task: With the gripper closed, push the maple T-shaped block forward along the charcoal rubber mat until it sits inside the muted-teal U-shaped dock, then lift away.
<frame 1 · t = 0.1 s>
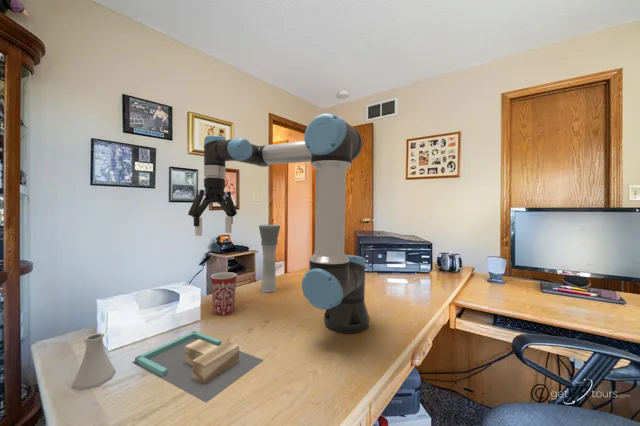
hand: (214, 234, 102), 28 cm above the table, fingers open, 13 cm apart
flask: (94, 382, 59), on the table
container: (268, 290, 125), on the table
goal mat: (198, 362, 67), on the table
tee block: (216, 369, 64), resting on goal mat
mug: (224, 310, 101), on the table
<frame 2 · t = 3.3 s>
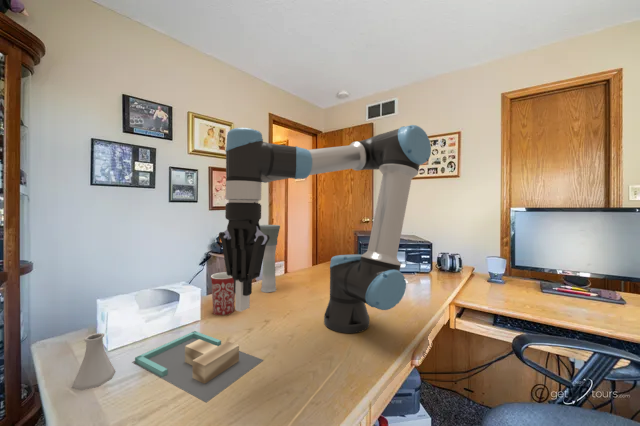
hand: (242, 308, 60), 16 cm above the table, fingers closed
nothing on the table moved.
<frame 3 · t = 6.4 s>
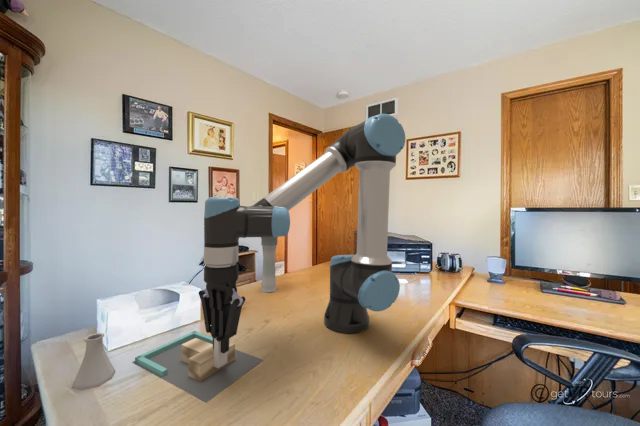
hand: (220, 364, 63), 2 cm above the table, fingers closed
tee block: (212, 367, 64), resting on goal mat, touching gripper
everything else where it was.
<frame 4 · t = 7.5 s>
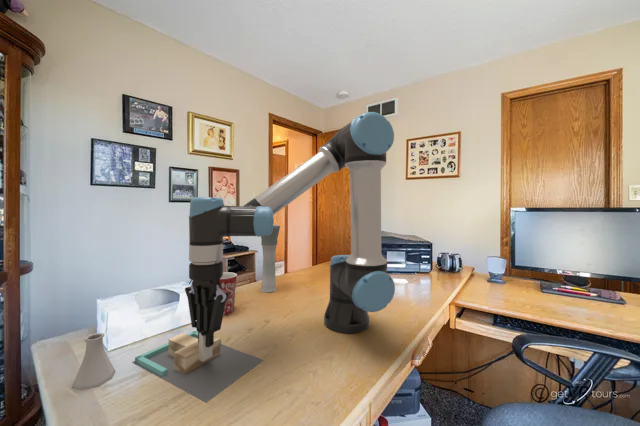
hand: (205, 358, 66), 2 cm above the table, fingers closed
tee block: (198, 360, 67), resting on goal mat, touching gripper
everything else where it was.
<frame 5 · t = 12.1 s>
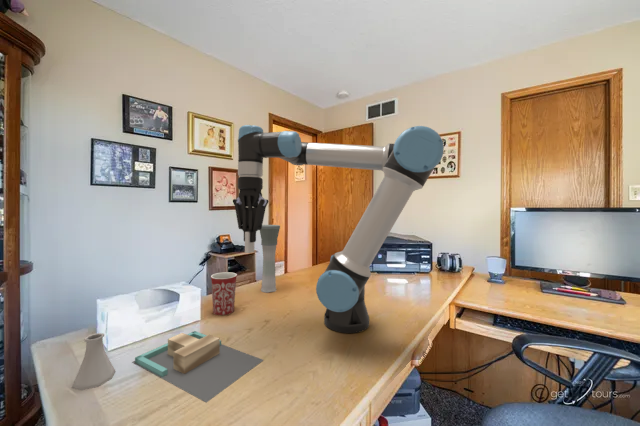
hand: (249, 252, 85), 24 cm above the table, fingers closed
tee block: (197, 360, 67), resting on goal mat
everything else where it was.
at the end: tee block 1.9 cm from the target spot, resting on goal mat; tee block tilted 0° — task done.
